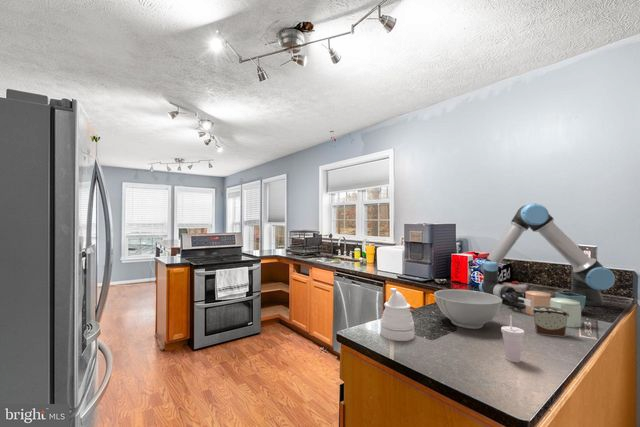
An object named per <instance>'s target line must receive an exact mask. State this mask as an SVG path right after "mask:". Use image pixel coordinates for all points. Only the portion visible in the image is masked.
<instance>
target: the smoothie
mask: <svg viewBox="0 0 640 427" xmlns="http://www.w3.org/2000/svg"><path fill="white" fill-rule="evenodd" d="M512 316H513V315H509V325H507V326H506V325H505V326H501V328H500V331H501V334H502V340H503V345H504V346H503V347H504V352H505V353H504V354H505V358H506V359H505V360H507V361H509V362H512V363H520V362H521V357H522V355H521V354H522V349H523V348H522V347H523V340H524V336H525V331H524V330H523V329H522V328H519V327H516V326H513V320H512V319H513V317H512Z"/></svg>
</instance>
